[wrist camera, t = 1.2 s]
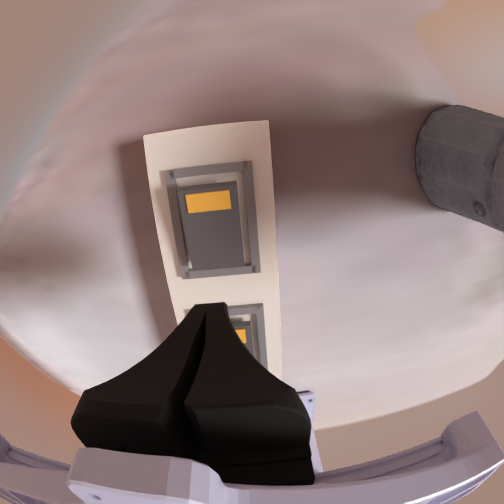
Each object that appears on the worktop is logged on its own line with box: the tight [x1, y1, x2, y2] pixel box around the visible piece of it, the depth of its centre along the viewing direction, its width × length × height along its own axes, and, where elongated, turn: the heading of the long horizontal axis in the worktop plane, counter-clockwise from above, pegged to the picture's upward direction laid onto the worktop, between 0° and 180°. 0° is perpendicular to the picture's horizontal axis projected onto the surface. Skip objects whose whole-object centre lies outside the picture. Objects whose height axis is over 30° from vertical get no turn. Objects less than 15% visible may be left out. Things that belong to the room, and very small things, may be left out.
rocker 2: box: [231, 321, 254, 356], centre depth 20 cm, size 5×3×1 cm, turn 5°
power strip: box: [143, 120, 282, 381], centre depth 20 cm, size 20×7×3 cm, turn 5°
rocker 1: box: [177, 181, 245, 270], centre depth 16 cm, size 5×3×1 cm, turn 4°
